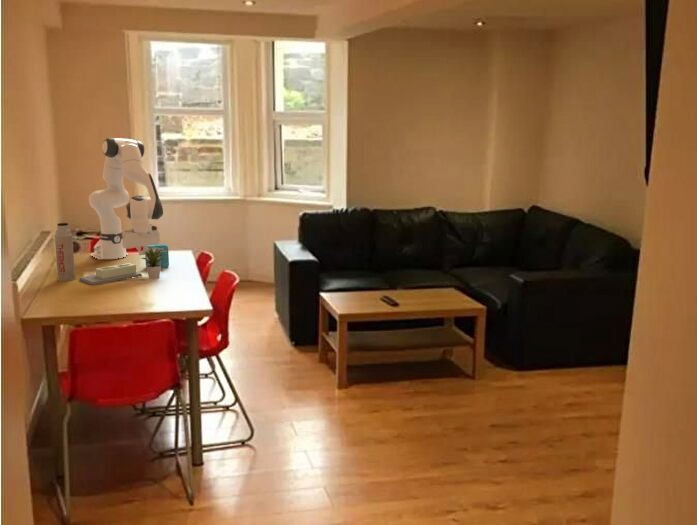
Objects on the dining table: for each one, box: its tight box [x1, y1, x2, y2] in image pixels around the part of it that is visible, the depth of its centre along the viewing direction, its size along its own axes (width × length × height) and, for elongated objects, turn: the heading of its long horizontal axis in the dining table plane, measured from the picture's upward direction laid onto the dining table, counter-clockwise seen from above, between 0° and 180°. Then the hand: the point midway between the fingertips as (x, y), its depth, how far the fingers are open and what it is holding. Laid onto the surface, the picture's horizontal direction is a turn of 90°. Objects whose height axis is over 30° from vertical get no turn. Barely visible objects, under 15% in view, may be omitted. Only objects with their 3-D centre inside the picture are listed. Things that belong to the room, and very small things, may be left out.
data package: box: [144, 243, 170, 269], centre depth 381 cm, size 12×4×12 cm, turn 105°
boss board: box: [78, 271, 143, 286], centre depth 355 cm, size 14×26×4 cm, turn 137°
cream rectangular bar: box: [95, 262, 138, 278], centre depth 357 cm, size 18×6×4 cm, turn 137°
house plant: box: [140, 246, 169, 280], centre depth 354 cm, size 14×14×16 cm
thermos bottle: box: [54, 222, 76, 282], centre depth 350 cm, size 8×8×28 cm
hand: (142, 254), depth 366 cm, fingers closed
